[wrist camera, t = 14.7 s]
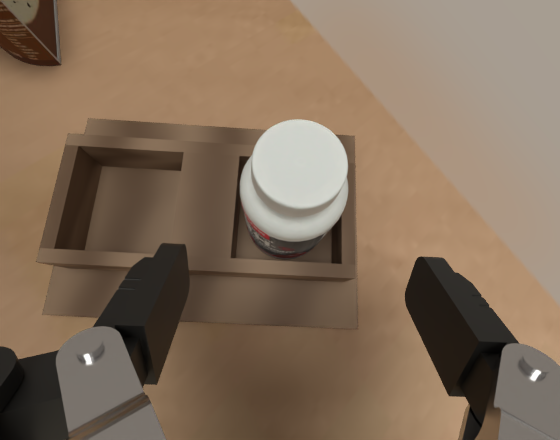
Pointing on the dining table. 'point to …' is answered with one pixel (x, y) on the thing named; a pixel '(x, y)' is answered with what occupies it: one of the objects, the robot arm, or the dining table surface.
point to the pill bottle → (294, 187)
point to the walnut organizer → (186, 228)
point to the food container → (30, 31)
